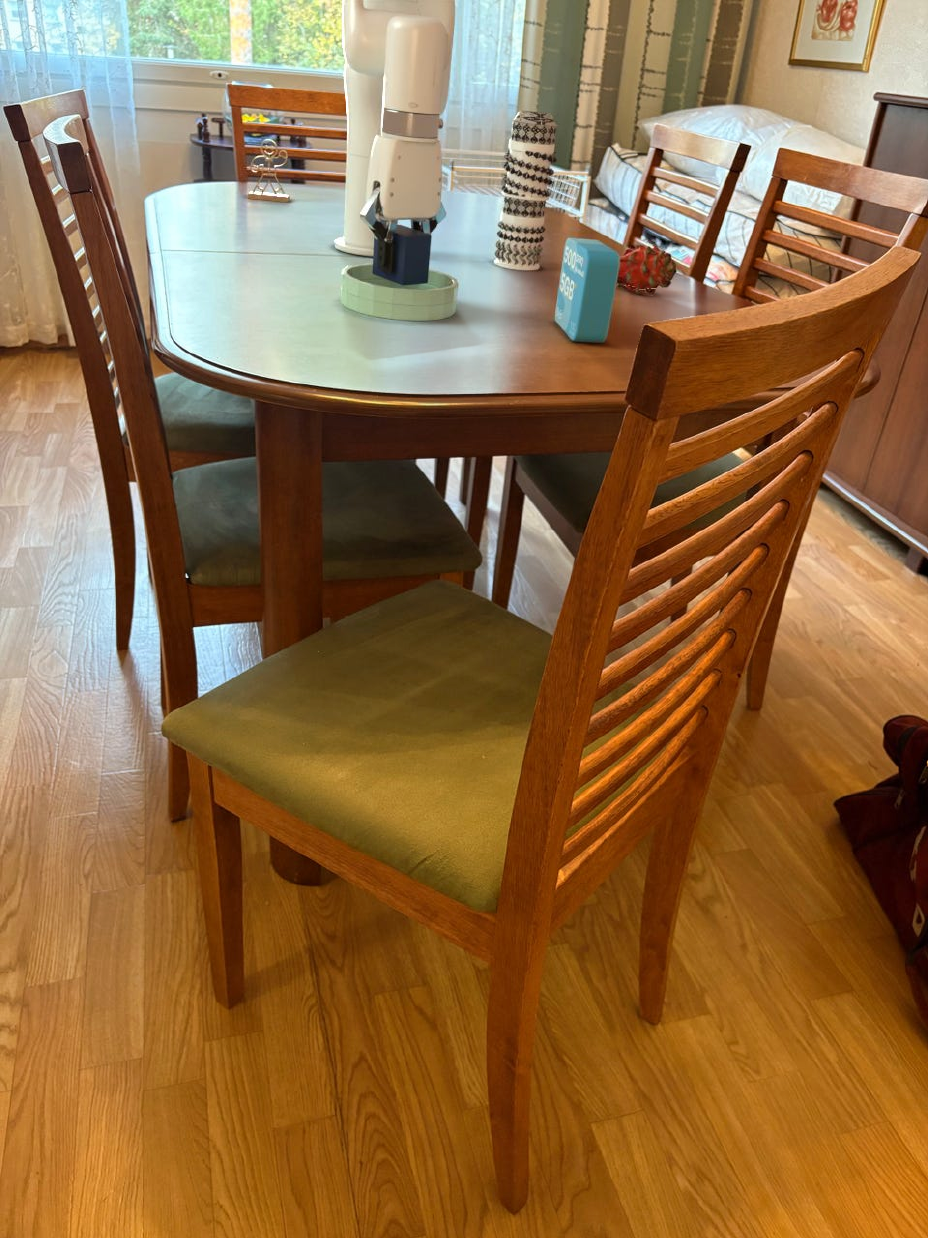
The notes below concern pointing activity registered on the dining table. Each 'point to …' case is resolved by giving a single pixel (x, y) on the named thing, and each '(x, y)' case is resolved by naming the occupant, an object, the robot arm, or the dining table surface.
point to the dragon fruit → (645, 269)
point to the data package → (586, 289)
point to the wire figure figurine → (269, 195)
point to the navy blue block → (407, 257)
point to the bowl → (398, 295)
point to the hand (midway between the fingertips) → (400, 268)
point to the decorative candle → (525, 190)
